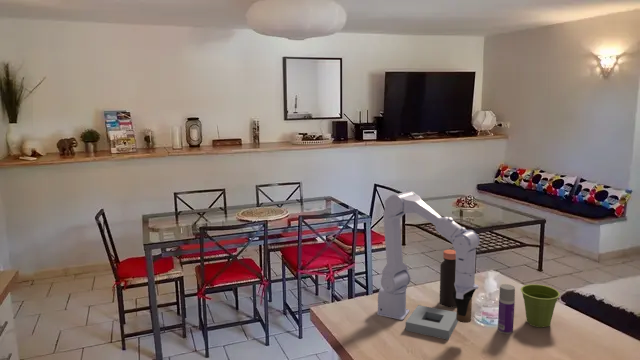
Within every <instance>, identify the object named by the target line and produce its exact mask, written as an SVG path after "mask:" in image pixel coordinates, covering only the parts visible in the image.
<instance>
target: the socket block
mask: <svg viewBox="0 0 640 360" xmlns="http://www.w3.org/2000/svg"><path fill="white" fill-rule="evenodd" d="M456 314H457V311H451V310H445V309H441V308H435V307H431V306H425V305H421V304H420V305H419V304H418V305H417V306H416V307H415V309H414V310H413V312H412V313H411V314H410V315H409V317H407V320H406V321H405V332H410V333H417V334H419V335H423V336H428V337H429V336H430V337H434V338H439V339H444V340H448V341H449V340H450V338H451V336H452V334H453V332H454V331H455V328H456V327H457V325H458V323H459V321H457V319H456Z"/></svg>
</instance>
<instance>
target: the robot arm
mask: <svg viewBox="0 0 640 360" xmlns="http://www.w3.org/2000/svg"><path fill="white" fill-rule="evenodd" d="M384 204H385V206H384V211H383V227H384V229H383V230H384V240H385V241H384V242H385V244H384V245H385V254H386V265H385V266H384V267H383V269H382V271H381V273H382V275H381V278H380V285H381V287H380V289H379V290H378V294H377V313H376V314H377V316H381V317H385V318H386V317H387V318H391V319H395V320H400V321H403V320H404V319H405V318H406V316H407V315H408V314H409V312H410V309H407V289H408V285H409V284H410V283H411V275H410V273H409V269H408V265H407V264H405V262H403V261H404V259H403V243H402V234H401V230H402V229H401V218H402V217H403V216H404V215H405V214H411V213H412V214H414V213H415V214H417V215H418V216H419V217H422V218H423V219H425V220H426V221H427V222H429V223H431V224H432V225H433V226H434V227H435V232H437V233H439V234H440V235H441V236H442V237H443V238H445V239H446V240H447V241H449V242H450V243H451V244H452V247H453V250H455V251H456V271H455V283H454V286H455V289H456V292H453V293H452V296H453V298H454V300H455V302H456V312H457V311H458V315H461V316H466V313H467V308H468V304H469V301H470V299H471V298H472V299H473V296H474V293H475V291H476V290H478V289H479V286H480V285H478V284H476V283H475V281H476V280H475V277H476V256H477V255H476V253H477V251H476V250H477V248H478V247H479V245H480V241H481V240H480V237H479V235H478V234H477V232H476V231H475V230H473V229H467V228H466V227H465V226H462V225H460V224H458V223H457V222H456V221H454V218H452V216H441V215H440V214H439V213H437V212H436V211H435V209H433V208H432V207H430V205H428V204H427V203H426V202H425V201H423V200H422V198H421V196H420V195H419V194H416V193H415V191H412V190H406V191H404V192H400V193H397V194H391V195H390V196H388V198H386V199H385V200H384Z"/></svg>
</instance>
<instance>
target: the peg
mask: <svg viewBox="0 0 640 360" xmlns="http://www.w3.org/2000/svg"><path fill="white" fill-rule="evenodd" d="M472 302H473V297H472V298H471V299H470V301H469V304H468V308H467V313H466V316H461V315H458V311H457V310H456V312H457V314H456V319H457V321H458V323H462V324H463V323H464V324H466V323H467V324H468V323H470V322H471V321H472V307H473V303H472Z"/></svg>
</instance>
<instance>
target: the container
mask: <svg viewBox="0 0 640 360" xmlns="http://www.w3.org/2000/svg"><path fill="white" fill-rule="evenodd" d="M515 299H516V287H515V285H512V284H507V283H505V284H500V286H499V297H498V314H497V315H498V318H497V331H498V332H499V333H501V334H505V335H511V334H513V332H514V319H515V318H514V317H515V305H516V304H515V303H516V302H515Z"/></svg>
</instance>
